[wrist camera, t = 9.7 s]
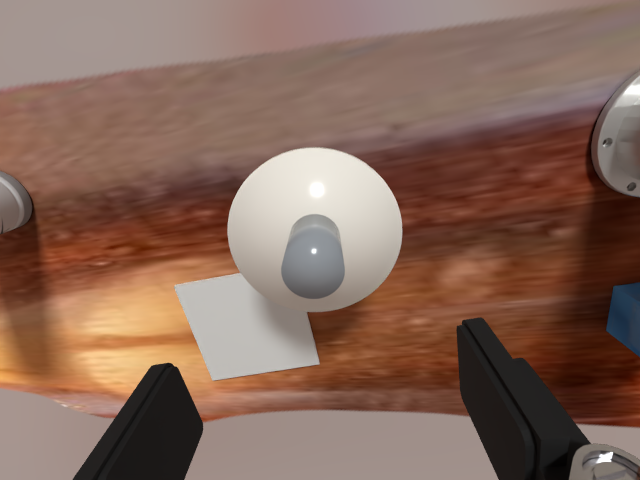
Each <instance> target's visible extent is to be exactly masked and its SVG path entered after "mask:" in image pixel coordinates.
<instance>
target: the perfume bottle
mask: <svg viewBox="0 0 640 480" xmlns="http://www.w3.org/2000/svg"><path fill="white" fill-rule="evenodd" d="M606 331H607V332H608V333H610V334H611V335H612V336H614V337H615V338H616V339H617V340H619V341H620V342H621V343H623V344H624V345H625V346H626V347H628V348H629V349H630V350H631V351H633V352H634V353H635V354H637V355H638V356H639V357H640V282H639V283H633V284H626V285H619V286H613V292H612V298H611V304H610V310H609V316H608V322H607V328H606Z"/></svg>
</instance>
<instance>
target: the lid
mask: <svg viewBox="0 0 640 480" xmlns="http://www.w3.org/2000/svg"><path fill="white" fill-rule="evenodd" d="M228 241H229V246H230V250H231V254H232V257H233V259H234V261H235V264H236V266H237V267H238V269H239V271H240V273H241V274H242V275H243V277H244V278H245V279H246V281H247V282H248V283H249V284H250V285H251V286H252V287H253V288H254V289H255V290H256V291H258V292H259V293H260V294H261V295H263V296H264V297H266V298H267V299H269V300H271V301H273V302H275V303H277V304H279V305H281V306H284V307H287V308H290V309H294V310H299V311H306V312H325V311H333V310H337V309H341V308H344V307H347V306H350V305H352V304H354V303H356V302H358V301H360V300H362V299H364V298H365V297H367V296H368V295H370V294H371V293H372V292H373V291H374V290H376V289H377V288H378V287H379V286H380V285H381V284H382V283H383V281H384V280H385V279H386V278H387V276H388V275H389V273H390V272H391V270H392V268H393V266H394V265H395V263H396V260H397V257H398V255H399V251H400V247H401V241H402V220H401V215H400V211H399V208H398V205H397V202H396V199H395V198H394V196H393V194H392V192H391V190H390V189H389V187H388V186H387V184H386V183H385V181H384V180H383V179H382V178H381V177H380V176H379V175H378V174H377V173H376V172H375V170H374V169H372V168H371V167H370V166H369V165H367V164H366V163H365V162H363V161H361V160H360V159H358V158H356V157H355V156H352V155H350V154H348V153H345V152H343V151H339V150H335V149H331V148H324V147H305V148H298V149H294V150H290V151H287V152H284V153H281V154H279V155H277V156H275V157H273V158H271V159H270V160H268V161H266V162H265V163H263V164H262V165H261V166H260V167H258V168H257V169H256V170H255V171H254V172H253V173H252V174H251V175H250V176H249V177H248V178H247V179H246V180H245V181H244V183H243V184H242V186H241V187H240V189H239V190H238V192H237V194H236V196H235V198H234V200H233V203H232V206H231V209H230V213H229V219H228Z"/></svg>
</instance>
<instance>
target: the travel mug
mask: <svg viewBox="0 0 640 480" xmlns="http://www.w3.org/2000/svg"><path fill="white" fill-rule="evenodd" d="M31 213H32V203H31V199H30V197H29V195H28V193H27V191H26V190H25V188H24V187H23V186H22V185H21V184H20V183H19V182H18V181H17V180H16V179H14V178H13V177H12V176H10V175H8V174H6V173H4V172H1V171H0V234H3V233H5V232H7V231H10V230H13V229H15V228H18V227H20V226H22V225H24V224H25V223H26V222H28V220H29V218H30V216H31Z"/></svg>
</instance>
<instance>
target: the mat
mask: <svg viewBox="0 0 640 480" xmlns="http://www.w3.org/2000/svg"><path fill="white" fill-rule="evenodd" d="M174 288H175V291H176V293H177V295H178V298H179V300H180V303H181V305H182V307H183V310H184V312H185V315H186V317H187V320H188V322H189V324H190V327H191V329H192V332H193V334H194V337H195V339H196V341H197V344H198V346H199V349H200V351H201V353H202V356H203V358H204V361H205V363H206V366H207V368H208V370H209V373H210V375H211V378H212V380H220V379H226V378H233V377H240V376H246V375H253V374H259V373H266V372H272V371H279V370H285V369H292V368H298V367H305V366H311V365H318V364H319V362H320V361H319V357H318V353H317V349H316V346H315V342H314V338H313V334H312V330H311V326H310V322H309V318H308V314H307V312H306V311H299V310H294V309H290V308H287V307H284V306H281V305H279V304H277V303H275V302H273V301H271V300H269V299H267V298H266V297H264V296H263V295H261V294H260V293H259V292H258V291H256V290H255V289H254V288H253V287H252V286H251V285H250V284H249V283H248V282H247V281H246V279H245V278H244V277H243V275H242V274H241V273H238V274H232V275H227V276H221V277H215V278H210V279H204V280H199V281H193V282H188V283H182V284H176V285H175V286H174Z"/></svg>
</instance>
